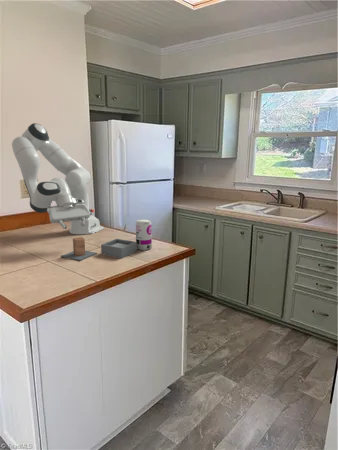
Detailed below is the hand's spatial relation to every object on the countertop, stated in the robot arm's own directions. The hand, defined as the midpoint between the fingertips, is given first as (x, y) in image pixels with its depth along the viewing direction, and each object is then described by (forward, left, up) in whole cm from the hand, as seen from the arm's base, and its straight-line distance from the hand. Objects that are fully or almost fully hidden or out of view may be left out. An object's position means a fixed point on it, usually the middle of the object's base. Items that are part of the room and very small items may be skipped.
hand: (74, 227), depth 166 cm
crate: (-9, +20, -13) cm, 26 cm away
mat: (+4, +6, -13) cm, 15 cm away
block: (+4, +6, -12) cm, 14 cm away
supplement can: (-22, +27, -13) cm, 37 cm away
